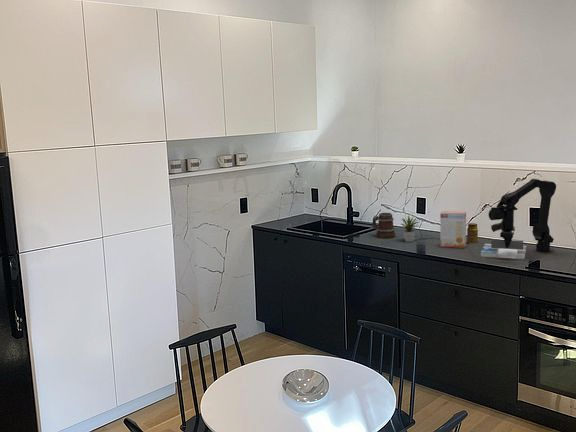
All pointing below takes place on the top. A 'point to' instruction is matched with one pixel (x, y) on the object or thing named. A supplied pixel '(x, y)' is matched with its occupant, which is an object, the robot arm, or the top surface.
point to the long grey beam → (501, 244)
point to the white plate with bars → (503, 252)
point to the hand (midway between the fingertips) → (507, 246)
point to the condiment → (472, 233)
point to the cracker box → (453, 229)
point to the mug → (384, 225)
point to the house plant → (409, 229)
